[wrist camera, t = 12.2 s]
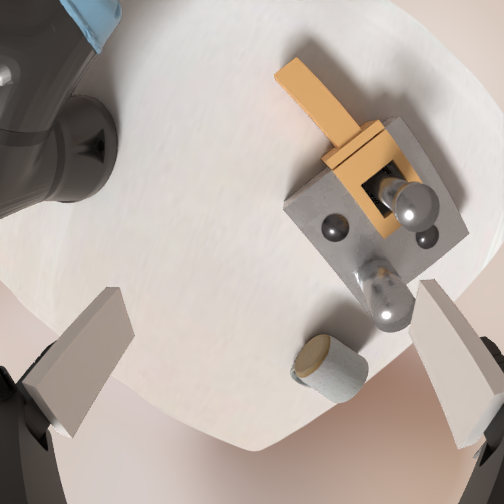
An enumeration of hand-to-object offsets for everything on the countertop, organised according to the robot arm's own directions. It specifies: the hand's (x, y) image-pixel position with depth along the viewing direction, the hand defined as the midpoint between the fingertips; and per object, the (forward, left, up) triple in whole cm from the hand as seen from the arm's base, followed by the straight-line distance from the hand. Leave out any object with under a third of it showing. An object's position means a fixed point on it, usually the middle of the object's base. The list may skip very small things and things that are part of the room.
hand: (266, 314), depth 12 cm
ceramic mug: (+22, -10, -25) cm, 34 cm away
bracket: (-1, +10, -24) cm, 26 cm away
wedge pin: (+5, +10, -24) cm, 27 cm away
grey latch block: (+8, +8, -24) cm, 27 cm away
